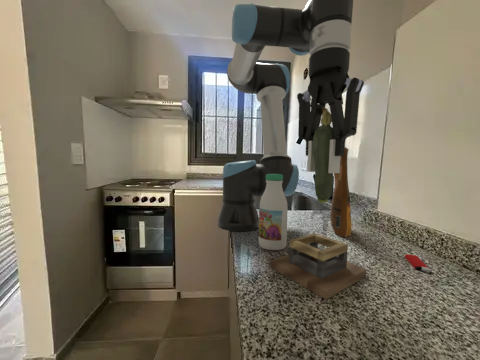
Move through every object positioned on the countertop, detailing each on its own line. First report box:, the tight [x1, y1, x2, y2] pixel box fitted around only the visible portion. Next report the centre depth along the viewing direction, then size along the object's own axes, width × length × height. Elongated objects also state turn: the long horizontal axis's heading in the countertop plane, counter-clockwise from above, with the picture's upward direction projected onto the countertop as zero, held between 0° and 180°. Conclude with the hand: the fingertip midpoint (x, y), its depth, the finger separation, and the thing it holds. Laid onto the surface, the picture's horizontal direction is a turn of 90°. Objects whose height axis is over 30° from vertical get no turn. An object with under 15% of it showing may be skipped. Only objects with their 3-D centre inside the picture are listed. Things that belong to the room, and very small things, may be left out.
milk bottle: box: [258, 174, 289, 251], centre depth 62 cm, size 8×8×20 cm
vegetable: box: [313, 107, 334, 204], centre depth 46 cm, size 4×4×20 cm
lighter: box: [404, 254, 433, 274], centre depth 52 cm, size 3×1×8 cm
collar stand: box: [269, 232, 368, 300], centre depth 48 cm, size 14×14×6 cm
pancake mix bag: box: [330, 146, 353, 238], centre depth 76 cm, size 7×19×28 cm, turn 165°
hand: (322, 172), depth 47 cm, fingers closed on vegetable, 4 cm apart
